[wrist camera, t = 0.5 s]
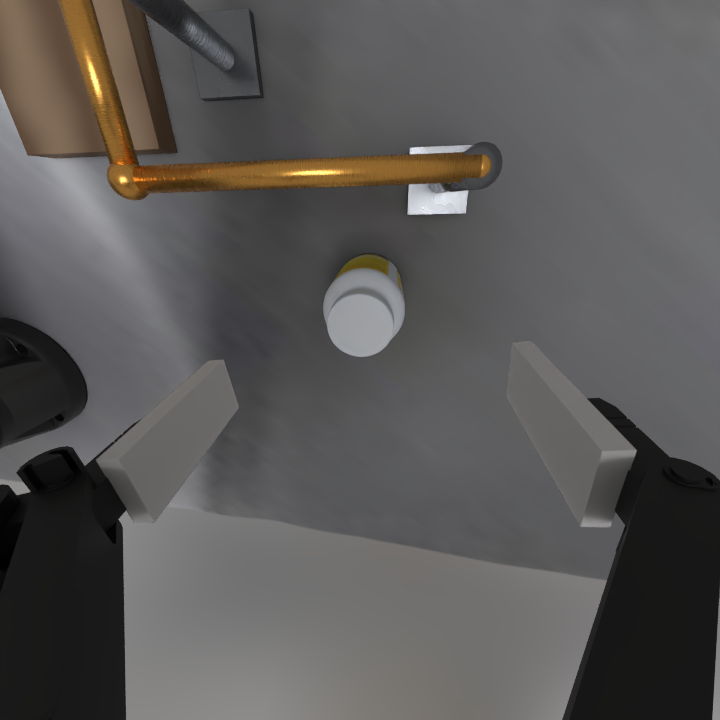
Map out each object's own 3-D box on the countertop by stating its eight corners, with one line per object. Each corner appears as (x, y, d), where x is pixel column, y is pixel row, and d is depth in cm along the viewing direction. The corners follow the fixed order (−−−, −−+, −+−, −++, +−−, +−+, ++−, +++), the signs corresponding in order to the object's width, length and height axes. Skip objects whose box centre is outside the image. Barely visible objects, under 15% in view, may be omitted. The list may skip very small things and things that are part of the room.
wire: (228, 218, 31) (88, 236, 17) (189, 19, 25) (-84, -222, 11) (463, 212, 29) (532, 226, 15) (486, -7, 23) (644, -348, 8)
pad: (54, 158, 30) (27, 155, 28) (-2, 9, 25) (-40, -9, 23) (177, 152, 29) (159, 148, 27) (140, -5, 24) (114, -25, 22)
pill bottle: (326, 268, 32) (295, 302, 22) (387, 240, 31) (384, 262, 20) (354, 325, 35) (338, 379, 24) (411, 302, 33) (420, 350, 23)
